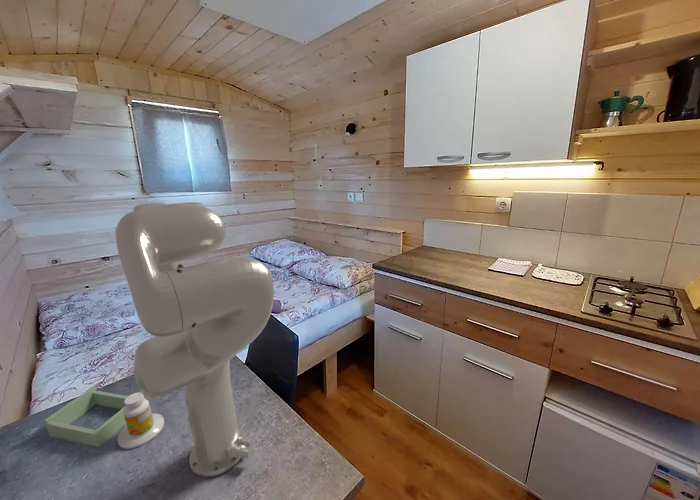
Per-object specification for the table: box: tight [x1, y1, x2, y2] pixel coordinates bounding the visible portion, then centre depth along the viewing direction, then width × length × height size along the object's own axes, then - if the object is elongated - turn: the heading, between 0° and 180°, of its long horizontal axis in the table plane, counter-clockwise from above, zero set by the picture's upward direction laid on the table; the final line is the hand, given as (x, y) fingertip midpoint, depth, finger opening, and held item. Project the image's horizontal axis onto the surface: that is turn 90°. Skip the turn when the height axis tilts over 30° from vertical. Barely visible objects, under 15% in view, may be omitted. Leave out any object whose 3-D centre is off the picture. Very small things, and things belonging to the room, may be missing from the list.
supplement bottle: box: [123, 391, 154, 437], centre depth 76 cm, size 5×5×10 cm
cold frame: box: [43, 386, 129, 448], centre depth 80 cm, size 16×12×5 cm
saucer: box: [117, 412, 165, 450], centre depth 78 cm, size 10×10×1 cm
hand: (173, 314), depth 80 cm, fingers open, 9 cm apart
